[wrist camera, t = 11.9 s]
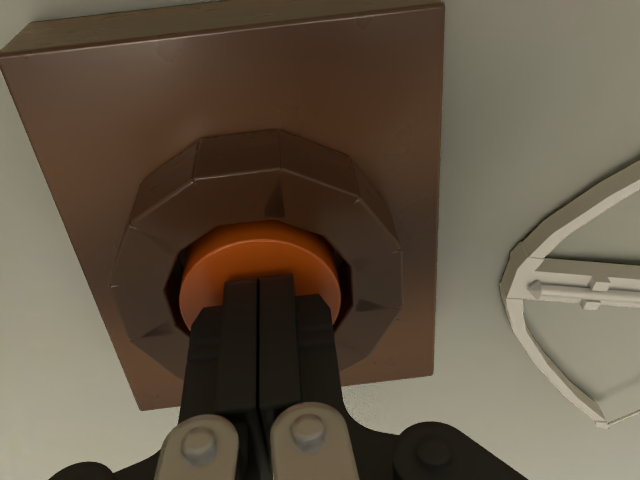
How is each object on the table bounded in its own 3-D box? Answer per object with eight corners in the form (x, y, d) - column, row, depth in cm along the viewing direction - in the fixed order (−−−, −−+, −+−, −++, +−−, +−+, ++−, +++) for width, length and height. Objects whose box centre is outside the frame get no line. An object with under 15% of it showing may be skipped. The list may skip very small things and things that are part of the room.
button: (171, 205, 14) (161, 250, 12) (327, 186, 14) (335, 230, 13) (202, 320, 16) (197, 370, 15) (338, 303, 16) (346, 352, 15)
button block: (27, 21, 14) (-46, 89, 10) (422, -23, 14) (472, 30, 11) (149, 358, 20) (128, 464, 17) (418, 326, 20) (448, 425, 17)
